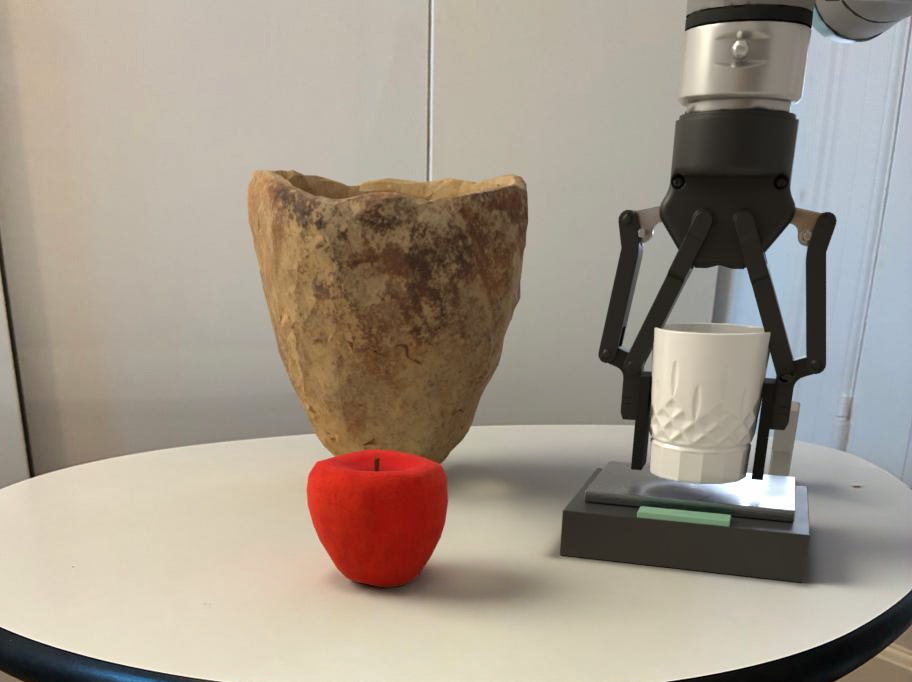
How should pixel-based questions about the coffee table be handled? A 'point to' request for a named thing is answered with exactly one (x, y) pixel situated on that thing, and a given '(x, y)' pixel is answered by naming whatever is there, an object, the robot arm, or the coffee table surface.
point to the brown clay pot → (389, 300)
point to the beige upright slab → (784, 444)
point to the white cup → (705, 400)
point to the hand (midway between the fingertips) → (697, 470)
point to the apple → (378, 513)
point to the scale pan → (695, 493)
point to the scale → (688, 538)
